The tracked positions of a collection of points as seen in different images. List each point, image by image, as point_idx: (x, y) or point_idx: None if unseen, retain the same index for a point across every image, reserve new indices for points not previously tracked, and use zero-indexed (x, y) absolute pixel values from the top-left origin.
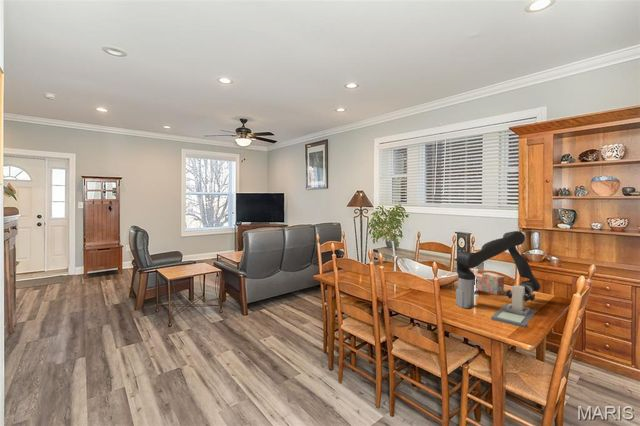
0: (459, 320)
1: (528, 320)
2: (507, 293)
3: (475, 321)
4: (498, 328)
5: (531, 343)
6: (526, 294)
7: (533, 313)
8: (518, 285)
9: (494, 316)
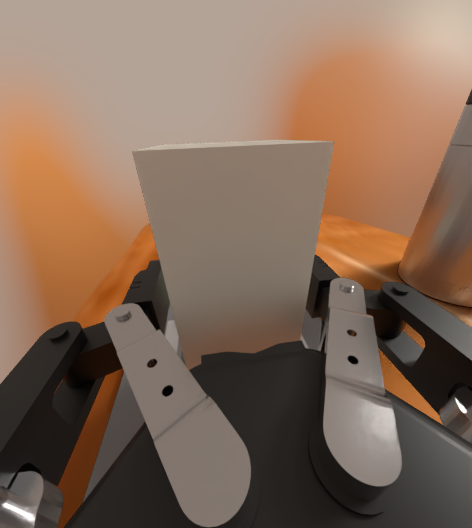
0: None
1: None
2: (379, 296)
3: None
4: None
5: (147, 225)
6: (138, 338)
7: (117, 416)
8: (260, 145)
9: None
